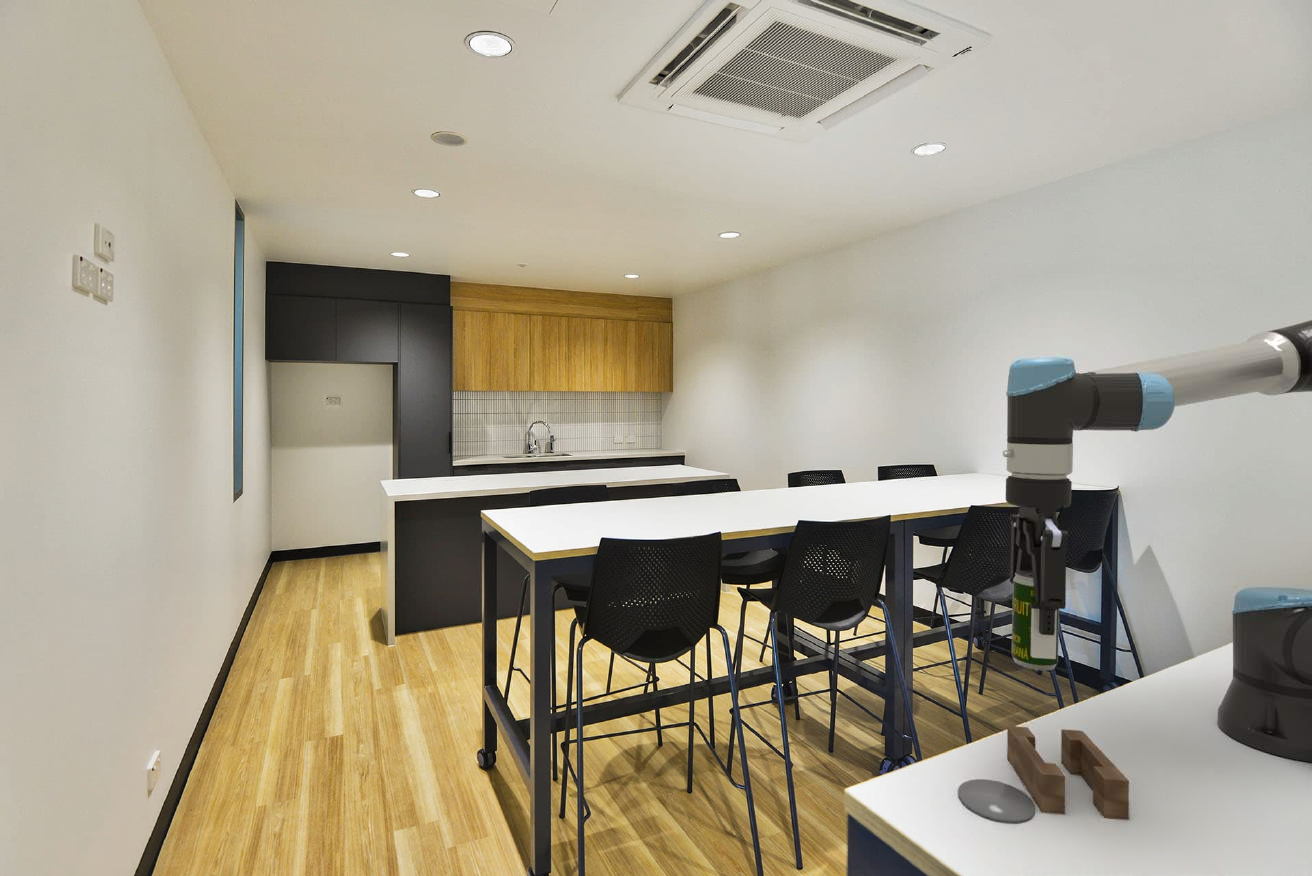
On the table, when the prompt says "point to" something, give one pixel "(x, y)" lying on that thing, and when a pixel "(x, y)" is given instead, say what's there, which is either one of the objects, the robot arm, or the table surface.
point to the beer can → (1026, 624)
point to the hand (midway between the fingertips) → (1034, 648)
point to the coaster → (996, 801)
